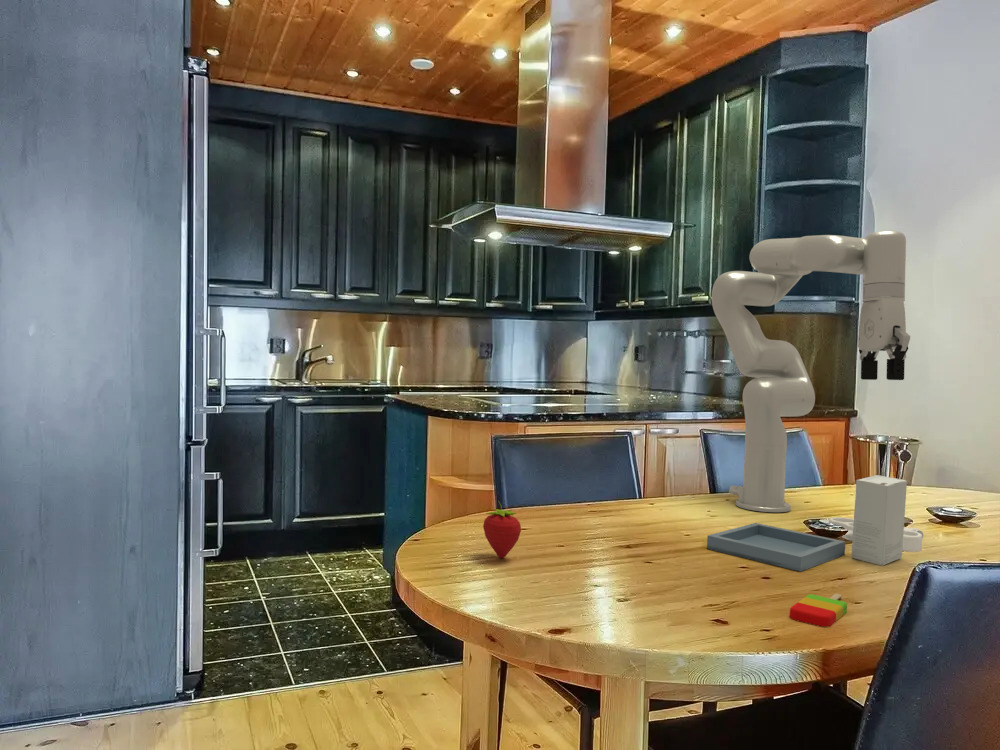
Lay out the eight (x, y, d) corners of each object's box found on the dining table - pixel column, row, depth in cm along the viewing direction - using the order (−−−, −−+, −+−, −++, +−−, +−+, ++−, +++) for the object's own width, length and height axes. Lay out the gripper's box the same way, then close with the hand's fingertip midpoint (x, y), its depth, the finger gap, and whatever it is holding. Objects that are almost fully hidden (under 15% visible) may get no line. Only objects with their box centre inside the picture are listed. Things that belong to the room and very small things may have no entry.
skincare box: (870, 552, 142) (874, 474, 141) (904, 559, 137) (908, 479, 137) (849, 558, 137) (853, 477, 136) (883, 566, 132) (888, 483, 131)
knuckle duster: (939, 547, 150) (905, 557, 141) (851, 528, 164) (815, 536, 155) (940, 530, 149) (906, 539, 141) (852, 513, 164) (816, 520, 155)
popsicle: (786, 621, 104) (787, 607, 104) (819, 596, 116) (820, 584, 115) (828, 631, 100) (828, 617, 100) (858, 605, 112) (858, 592, 112)
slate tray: (706, 548, 140) (707, 535, 140) (754, 535, 152) (755, 522, 152) (800, 571, 127) (801, 557, 127) (844, 554, 139) (845, 541, 139)
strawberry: (500, 566, 124) (502, 506, 124) (474, 555, 130) (476, 498, 130) (528, 561, 128) (530, 503, 127) (501, 551, 134) (503, 495, 133)
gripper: (844, 298, 158) (842, 379, 158) (888, 288, 141) (886, 379, 141) (879, 299, 158) (877, 379, 158) (927, 289, 141) (925, 380, 141)
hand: (881, 379), depth 150 cm, fingers open, 9 cm apart
